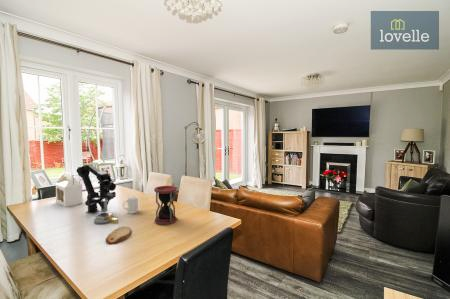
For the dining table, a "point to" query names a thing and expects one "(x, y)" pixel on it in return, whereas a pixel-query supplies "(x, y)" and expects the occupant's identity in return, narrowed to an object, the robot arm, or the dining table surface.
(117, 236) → the slice of bread
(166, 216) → the hourglass
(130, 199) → the mug
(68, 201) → the gable box
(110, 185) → the robot arm
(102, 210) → the wedge pin
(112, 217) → the rosette
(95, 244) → the dining table surface
